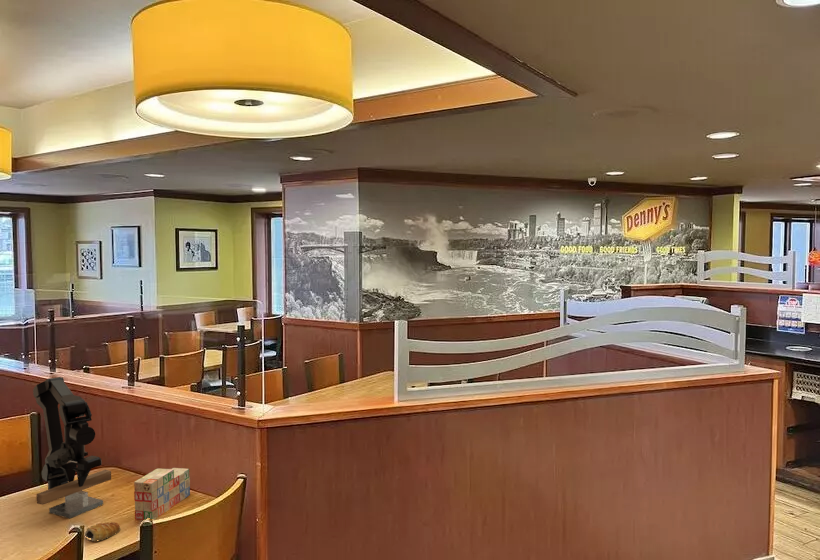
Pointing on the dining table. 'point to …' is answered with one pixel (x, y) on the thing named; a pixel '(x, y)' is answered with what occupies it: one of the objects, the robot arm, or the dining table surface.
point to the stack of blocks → (160, 492)
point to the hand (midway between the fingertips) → (75, 485)
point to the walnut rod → (72, 487)
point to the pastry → (102, 531)
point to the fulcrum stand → (75, 505)
